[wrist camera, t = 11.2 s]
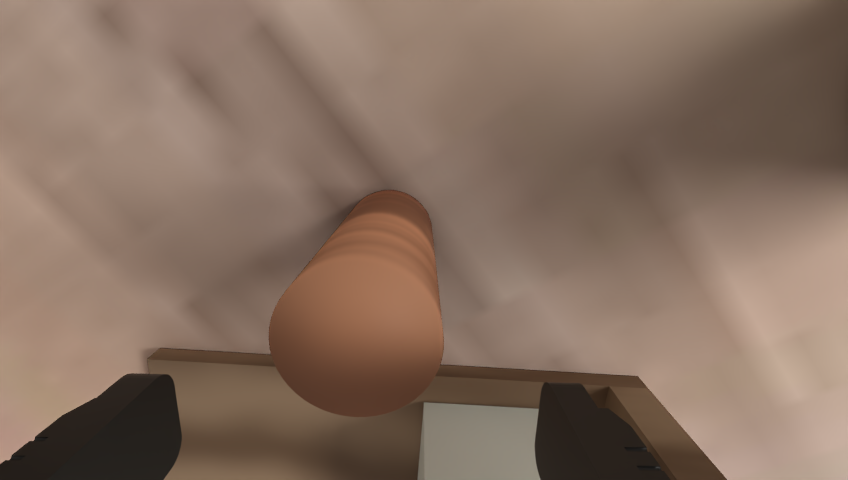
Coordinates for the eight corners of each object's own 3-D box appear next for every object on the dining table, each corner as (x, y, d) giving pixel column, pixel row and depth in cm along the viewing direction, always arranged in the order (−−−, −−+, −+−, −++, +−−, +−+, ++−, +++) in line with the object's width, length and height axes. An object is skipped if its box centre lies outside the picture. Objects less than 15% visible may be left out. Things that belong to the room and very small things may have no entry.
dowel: (348, 186, 18) (265, 255, 8) (435, 193, 18) (451, 268, 9) (346, 268, 19) (271, 412, 10) (428, 274, 19) (436, 421, 10)
